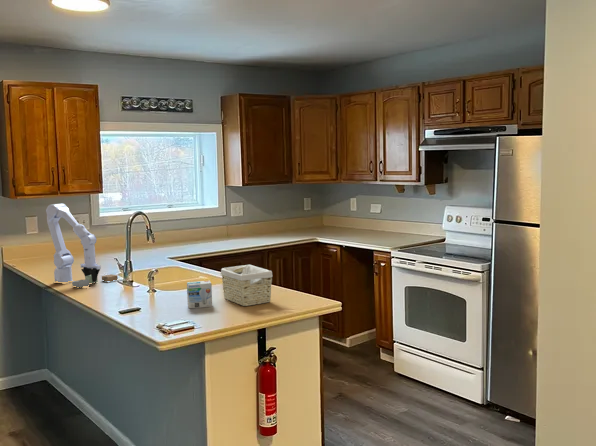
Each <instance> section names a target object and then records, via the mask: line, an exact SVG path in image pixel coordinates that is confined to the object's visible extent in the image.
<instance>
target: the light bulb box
mask: <svg viewBox="0 0 596 446" xmlns="http://www.w3.org/2000/svg"><path fill="white" fill-rule="evenodd" d="M212 289H213V288H212V282H211V280H199V281H188V282H186V290H187V291H186V292H187V293H186V294H187V297H186V298H187V306H188V309H199V308H209V307H210V308H211V307H213V290H212Z"/></svg>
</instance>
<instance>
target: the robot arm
mask: <svg viewBox="0 0 596 446" xmlns="http://www.w3.org/2000/svg"><path fill="white" fill-rule="evenodd" d="M45 213H46V222H47V227H48V230H49V232H50V233H49V234H50V235H51V239H52V243H53V247H54V250H55V252H54V253H53V264H54V266H55V267H56V268H55V269H54V271H53V276H54V282H55V281H58V282H68V281H73V273H72V272H73V269H72V266H73V264H74V262H75V258H74V256H73V254H72V252H71V251H70V250H69V249H67V247H66V244H65V239H64V236H63V234H62V230H61V226H60V223H59V221H60V219H61V218H63V219H64V220H65V222H67V223H68V224H69V225H70V226H71V227H72V228H73V229H72V231H73V232H74V234H75V235H76V236H77V237H78V238H79V240H80V244H81V245H82V249H83V256H84V263H80V268H81V272H82V274H83V275H84V277H85V276H89V275H91V276H92V282H96V281H97V279H98V275H99V273H100V271H101V267H102V266H101V265H99V264H98V263H97V261H96V259H97V258H96V247H95V245H96V243H97V237H96V235H95V234H93V233H91V232H89V230H88V229H86V226H85V225H84V224H82V223H79V222H78V221H77V220H76V218H75V217H74V216H73V215H72V213H71V211H70V209H69V207H68V206H67V205H66V204H65V203H63V202H60V203H53V204H52V203H51V204H48V206H47V207H46V209H45Z"/></svg>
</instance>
